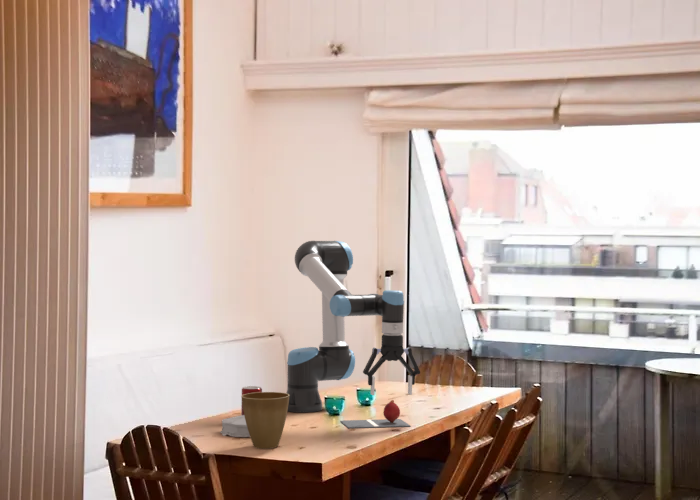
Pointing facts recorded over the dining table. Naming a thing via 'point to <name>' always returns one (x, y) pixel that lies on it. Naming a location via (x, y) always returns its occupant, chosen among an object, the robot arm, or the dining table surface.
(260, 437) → the plant pot
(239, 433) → the food container
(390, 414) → the onion
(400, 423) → the mat
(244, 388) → the soda can
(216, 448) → the dining table surface
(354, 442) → the dining table surface
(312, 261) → the robot arm
